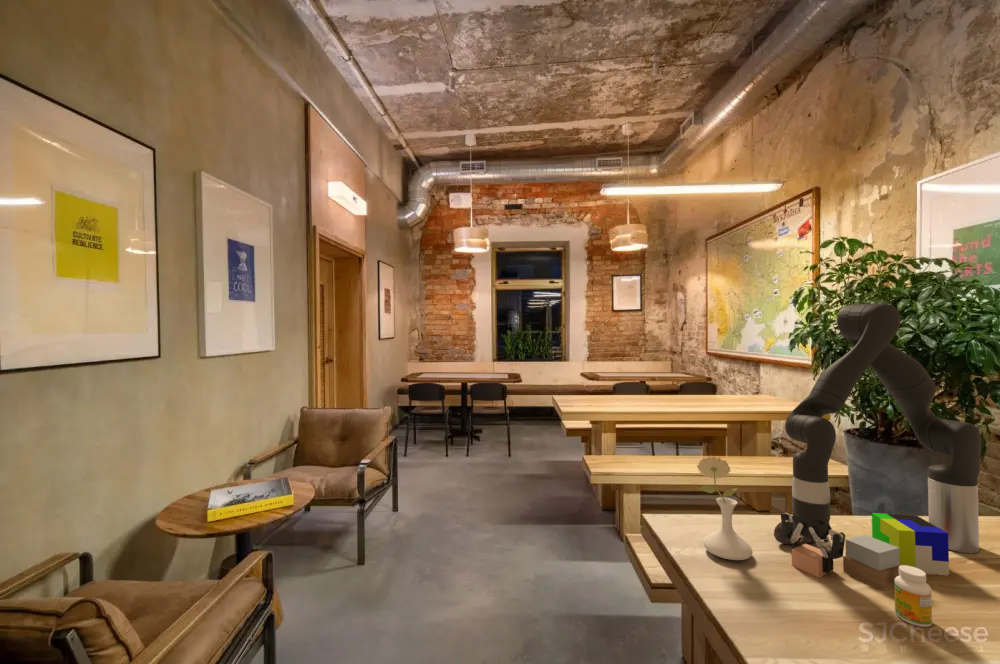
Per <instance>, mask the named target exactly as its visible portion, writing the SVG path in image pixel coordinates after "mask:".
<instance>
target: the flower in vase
mask: <svg viewBox="0 0 1000 664" xmlns="http://www.w3.org/2000/svg"><path fill="white" fill-rule="evenodd" d="M696 468H698V469H697V470H698V471H699V473H700V474H701V475H703V476H704V477H708V478H709V479H713V480H714V481H713V482H714V487H713V486H711V485H709V484H708V485H707V484H705V485H703V486H701V487H700V488H699V491H702V492H704V493H705V492H706V493H709V494H713V493H715V492H717V493H718V494H719V496H720V497H717V498H715V501H716V502H717V504H718V506H719V508H720V511H721V520H722V522H721V527H720V528H719V529H718V530H716V531H714V532H712V533H710V534H709V535H707V536H706V537H705V538H704V540H703V546H704V548H705V549H706V550H707V551H708V552H709V553H711V554H712V555H714V556H716V557H719V558H722V559H725V560H729V561H745V560H747V559H749V558H750V557H752V556H753V554H754V553H753V549H752V546H751V545H750V544H749V543H748V542H747V541H746V540H745V539H744V538H743V537H741V535H739V534H738V533H737V532H736V531H735V530H734V529H733V522H732V521H733V512H734V509H735V507H736V506H737V505H738V501H737V500H735V499H733V498H729V497H731V496H733V495H734V494H735V493H736V492H737V490H738V487H736V488H732V489H730V488H729V489H726V490H724V492H723V493H721V492H720V491H719V490H718V487H717V484H716V483H717V482H716V481H717V480H716V479H721V478H726V477H727V476H728V475H729V474H730V473H731V472H732V470H731V467H730V466H729V463H728V462H727V460H724V459H722V458H721V457H716V456H712V457H711V456H709V455H708V456H706V457H703V458H702V459H699V462H698V464H697V465H696Z"/></svg>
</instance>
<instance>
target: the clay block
mask: <svg viewBox="0 0 1000 664" xmlns="http://www.w3.org/2000/svg"><path fill="white" fill-rule="evenodd" d="M822 557H823V555H822V552H821V550H820V548H819V547H817V546H813V545H810V544H808V543H803V544H802V545H801V546H799V547H796V548H794V549H792V548H791V566H792V565H793V566H792V567H794V566H795V568H797V569H799V570H800V571H803V572H805V573H808V574H810V575H812V576H814V577H817V578H821V577H823V576H825V575H827V574H828V573H825V572H823V563H822ZM832 572H833V571H831V572H830V573H832Z"/></svg>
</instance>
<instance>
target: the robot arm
mask: <svg viewBox="0 0 1000 664" xmlns="http://www.w3.org/2000/svg"><path fill="white" fill-rule="evenodd" d="M901 318H902V317H901V314H900V312H899V310H898V308H896V307H895V306H894V305H892V304H889V303H854V304H849V305H845V306H843V307H842V308H841V309H839V311H838V313H837V316H836V323H837V327H838V330H839V332H840V333H841V334H842V337H844V339H846V341H847V342H848V343H849V344H850V345H851V346H852V348H851V349H849V351H848V352H846V353H845V354H844V355H843V356H841V357H840V358H838V359H837V360H836V361H834V362H833V363H832V364H829V366H828V367H827V368H825V369H824V370H823V372H822V373H821V374H820V375H819V377H818V378H817V380H816V381H815V384H814V385H813V386H812V389H811V391H810V393H809V395H808V396H807V397H805V398H804V399H803V400H802V401H801V402H800V403H799V404H798V405H796V407H795V408H793V409H792V411H791V412H790V413H789V414H788V416H787V418H786V420H785V423H784V424H785V425H784V430H785V433H786V435H787V436H788V437H789V438H790V439H792V440H794V441H796V442H800V443H804V444H806V450H805V451H798V452H795V453H794V454H793V456H792V457H793V458H792V482H791V484H792V485H791V493H792V494H791V498H792V499H791V500H792V503H791V505H792V509H791V510H792V513H791V512H789V511H787V512H784V513H783V512H782V513H781V514H780V522H782V530H783V536H784V537H785V538H788V539H789V540H790V541H791V543H792V544H791V550H792V549H794V548H796V547H799V546H801V545H803V543H800V542H801V540H802V539H803V537H807V538H810V539H811V540H813V541H812V542H814V543H815V544H816V548H818V549H820V550H821V552H822V555H823V557H822V563H823V572H825V573H827V574H829V573H832V572H833V570H834V568H835V567H834V560H836V559H839V558H843V556H844V548H845V544H846V540H845V539H846V535H845V533H844V532H841V531H840V532H838V531H835V530H833V529H832V527H831V525H830V519H831V493H830V492H831V491H830V485H829V461H830V459H831V457H832V453H833V450H834V447H835V443H836V438H837V432H836V429H835V426H834V425H833V423H832V422H831V421H830V420H828V419H827V418H825V417H824V416H826V415H831V414H832V415H833V414H837V413H839V412H840V411H841V410H842V409H843V407H844V405H845V404H846V402H847V400H848V398H849V396H850V394H851V393H852V391H853V389H854V387H855V386H856V385H857V383H858V381H859V380H860V378H861V377H862V375H863V374H864V373H865V372H866V371H867V369H868V368H869V367H870V368H871V369H872V371H873V372H874V374H876V377H878V379H879V381H880V382H881V383H882V385H883V386H884V388H885V390H886V391H887V392H888V393H889V395H890V396H891V397H892V399H893V400H894V402H896V404H897V405H898V408H899V409H900V410H901V412H902V413H903V414H904V416H905V418H906V420H907V421H908V423H909V425H910V427H911V429H912V431H913V432H914V435H915V436H916V438H917V440H918V442H919V443H920V444H921V445H922V447H924V448H925V449H927V450H928V451H931V452H934V453H938V454H944V455H949V456H951V460H950V463H947V464H934V465H929V466H928V468H927V500H928V501H927V502H928V503H927V504H928V507H927V508H928V522H929V523H931V524H933V525H934V526H936V527H938V528H940V529H941V530H943V531H945V532H947V533H948V545H949V550H950V551H953V552H957V553H958V552H959V553H965V554H976V553H979V552H980V538H979V537H980V532H979V531H980V529H979V528H980V527H979V489H978V488H979V487H978V484H979V481H978V480H979V476H980V473H981V456H982V455H981V453H982V437H981V436H982V435H981V433H980V430H979V428H978V427H977V426H976V425H974V424H972V423H968V422H965V421H958V420H952V419H945V418H940V417H938V416H936V414H935V413H934V412H933V411H932V410H931V408H930V405H931V403H932V402H933V399H934V397H935V395H936V391H937V388H936V384H935V382H934V380H933V378H932V377H931V375H930V374H929V372H927V370H926V368H925V367H924V366H923V365H922V364H921V363H920V362H919V361H917V360H916V359H915V358H914V357H912V356H910V355H909V354H907V353H906V352H904V351H903V350H901V349H899V348H897V347H895V346H894V345H893V344H891V341H892V339H894V337H895V336H896V334H897V333H898V331H899V329H900V326H901V322H902V320H901ZM792 522H794V523H795V525H796V529H795V531H794V530H793V523H792ZM829 536H830V537H829ZM831 571H832V572H831Z"/></svg>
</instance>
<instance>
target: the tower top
mask: <svg viewBox="0 0 1000 664" xmlns="http://www.w3.org/2000/svg"><path fill="white" fill-rule="evenodd" d="M845 556H847V557H849V558H852V559H854V560H856V561H858V562H860V563H863V564H865V565H867V566H869V567H872V568H874V569H876V570H878V571H881V570H884V569H888V568H892V567H895V566H899V565H900V564H899V548H898V547H896V546H893V545H890V544H888V543H885V542H883V541H880V540H878V539H875V538H872V536H870V535H868V534H862V535H858V536H854V537H850V538H845Z"/></svg>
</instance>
